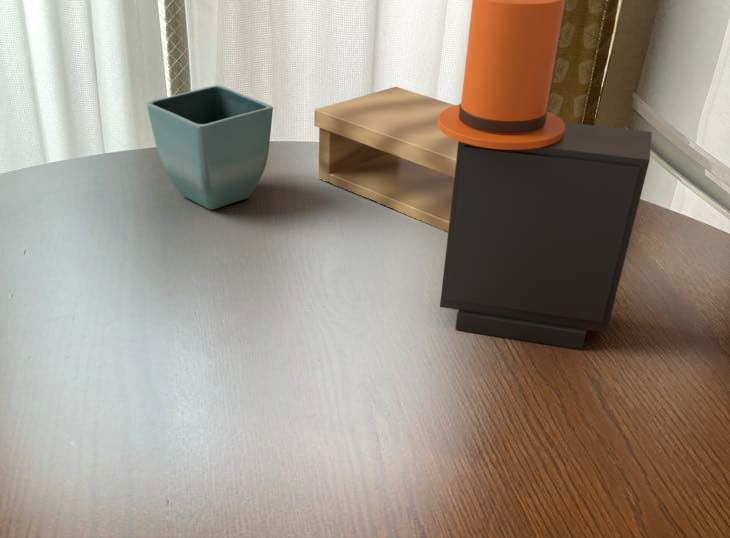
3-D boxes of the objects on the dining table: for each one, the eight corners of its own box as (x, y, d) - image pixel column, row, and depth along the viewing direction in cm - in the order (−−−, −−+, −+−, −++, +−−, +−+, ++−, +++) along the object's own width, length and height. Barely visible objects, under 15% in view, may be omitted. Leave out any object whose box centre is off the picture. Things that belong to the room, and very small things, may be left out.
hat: (523, 103, 70) (543, -25, 65) (588, 142, 64) (616, 4, 59) (417, 114, 68) (428, -18, 62) (473, 156, 62) (491, 13, 56)
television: (601, 353, 71) (649, 162, 61) (436, 327, 74) (457, 139, 64) (607, 312, 76) (652, 129, 67) (452, 288, 79) (474, 109, 69)
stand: (553, 212, 91) (566, 139, 87) (476, 247, 85) (486, 170, 80) (391, 153, 103) (395, 86, 98) (313, 179, 97) (314, 109, 92)
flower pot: (206, 223, 88) (200, 125, 82) (153, 196, 93) (143, 101, 87) (277, 200, 92) (275, 106, 86) (223, 175, 97) (218, 84, 91)
